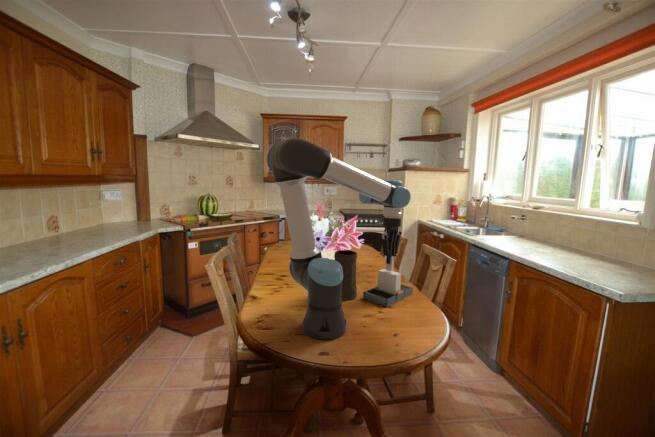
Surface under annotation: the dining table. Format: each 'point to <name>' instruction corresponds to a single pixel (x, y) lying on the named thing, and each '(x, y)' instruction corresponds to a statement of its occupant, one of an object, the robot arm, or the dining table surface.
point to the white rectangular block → (389, 281)
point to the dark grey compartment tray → (387, 295)
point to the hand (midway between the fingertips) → (389, 270)
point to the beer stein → (348, 272)
